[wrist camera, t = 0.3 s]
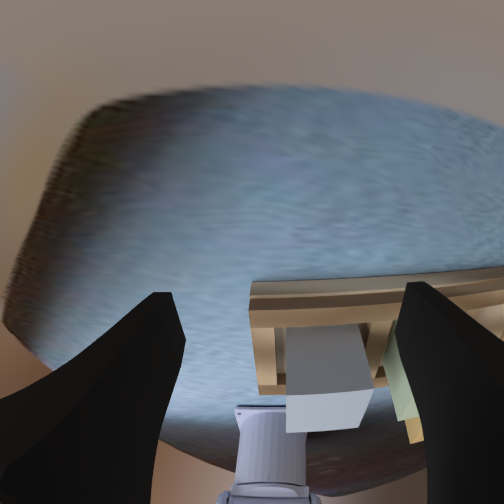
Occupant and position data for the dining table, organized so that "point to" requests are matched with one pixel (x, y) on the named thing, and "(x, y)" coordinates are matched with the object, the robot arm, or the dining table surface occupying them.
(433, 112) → the dining table surface
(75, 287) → the dining table surface
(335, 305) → the slot board
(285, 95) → the dining table surface
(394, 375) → the sage block
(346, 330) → the blue-grey block
